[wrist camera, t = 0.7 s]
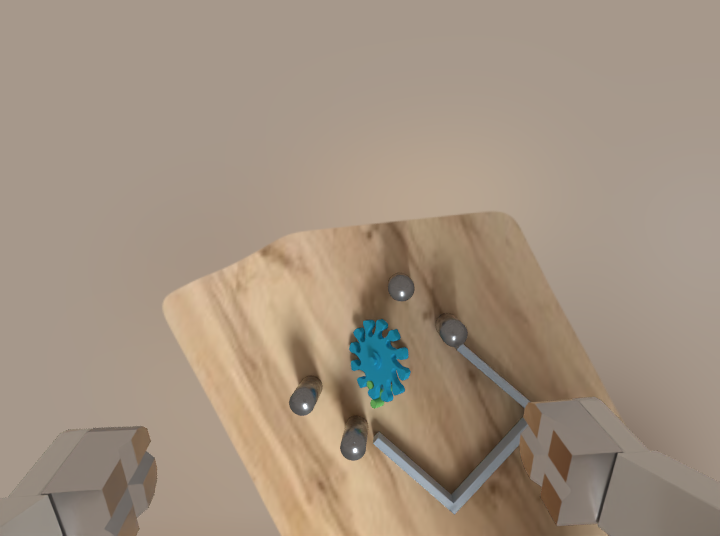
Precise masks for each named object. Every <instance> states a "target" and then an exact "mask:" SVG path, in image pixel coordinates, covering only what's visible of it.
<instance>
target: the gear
mask: <svg viewBox="0 0 720 536" xmlns="http://www.w3.org/2000/svg"><path fill="white" fill-rule="evenodd" d="M363 326H364V328H357V329H356V330H355V331H354V332H353V333H354V336H355V337H356V338H357V339H358V341H359V343H358V342H352V343H351V345H350V348H349V350H350V352H352V353H355V354H356V355H357V356H358V357H359V359H360V361H361V362H360V361H359V360H353V361H351V369H352V370H353V371H355V370H362V371H364V372H365V375H366V377H365V376H363V377H359V378H358V379H357V381H358V384H359V386H360V388H363V387H366V386H367V387H368V388H369V391H368V395H369V396H370V397H371V398H372V399H373V400H371V407H372V408H374V409H375V408H377V407H380V406H383V405H384V401H385V402H389V401H392V400H393V394H394V395H398V394H401V393H403V392H404V391H405V388H404V386H403V385H402V384H401V382H400V381H399V379H398V376H399V378H400V379H401V380H406V379H408V378H409V376H410V372H411V371H410V370H409V368H406V367H404V366H402V365H401V364H400V363H399V362H398V360H397V359H400V360H404V359H407V358H408V349H407V348H406V347H403V348H399V349H396V348H394V347H392V346H391V341H398V340H400V338H401V337H400V334H399V332H398V330H397V329H395V330H390V331H389V333H388V335H387V336H386V337H385V338H383V336H382V331H383V330H386V329H387V328H388V323H387V322H386V321H385V320H383V319H380V320H377V321H376V330H375V333H374V335H373V333H372V330H373V328H374V327H375V321H374V320H366V321H363ZM364 329H365V330H364ZM359 344H360V345H359ZM396 370H397V373H398V376H397V373H396ZM391 382H392V385H391ZM392 392H393V394H392Z"/></svg>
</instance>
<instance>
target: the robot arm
mask: <svg viewBox="0 0 720 536" xmlns="http://www.w3.org/2000/svg"><path fill="white" fill-rule="evenodd" d="M523 418H524V419H525V421H526V422H527V424H528V426H527V427H526V428H525V429H524V430H523V431H522V432H521V434H520V443H519V448H520V455H521V460H522V463H523V466H524V469H525V471H526V472H527V474H528V476H529V478H530V479H531V480H532V481H534V482H535V483H537V484H538V485H540V486H541V487H542V489H541V494H540V498H541V499H542V501H543V503H544V505H545V507H546V508H547V510H548V512H549V514H550V515H551V517H552V519H553V521H554V522H555V524H556V526H565V525H584V524H598V527H600V528H601V529H602V530H603V531H604V532H606V533H607V534H608V535H609V536H720V482H719V481H717V480H715V479H713V478H711V477H709V476H707V475H705V474H703V473H701V472H699V471H697V470H695V469H693V468H691V467H689V466H687V465H685V464H683V463H681V462H679V461H677V460H675V459H673V458H671V457H669V456H667V455H665V454H663V453H661V452H659V451H650V450H649V449H648V448H647V447H646V446H645V445H644V444H643V443H642V442H641V441H640V440H639V439H638V438H637V437H636V436H635V435H634V434H633V433H632V432H631V431H630V430H629V429H628V428H627V426H626V425H625V424H624V423H623V422H622V421H621V420H620V419H619V418H618V417H617V416H616V415H615V414H614V413H613V412H612V411H611V410H610V409H609V408H608V407H607V406H606V405H605V404H604V403H603V402H602V401H601V400H600V399H598V398H596V397H587V398H575V399H572V400H555V401H540V402H528V404H527V405H526V407H525V410H524V416H523ZM150 442H151V440H150V436H149V433H148V429H147V428H145V427H143V426H133V427H108V428H93V429H70V430H69V429H68V430H66V431H64V432H62V433H60V434H59V435H58V436H57V438H56V439H55V440H54V441H53V443H52V444H51V445H50V446H49V448H48V449H47V450H46V451H45V452H44V454H43V455H42V456H41V457H40V459H39V460H38V461H37V462H36V463H35V465H34V466H33V467H32V468H31V470H30V471H29V472H28V473H27V474H26V476H25V477H24V478H23V479H22V480H21V482H20V483H19V484H18V486H17V487H16V488H15V489H14V490H13V491H12V493H11V494H10V495H9V496H8V498H0V536H136V535H137V533H138V531H139V525H138V521H137V517H139V516H140V515H141V514H142V513H143V512H144V511H145V510H147V509H148V508H149V505H150V503H151V501H152V499H153V496H154V493H155V487H156V483H157V466H156V461H155V458H154V457H153V456H152V455H151V454H149V453H148V452H147V451H146V450H147V447H148V446H149V444H150Z"/></svg>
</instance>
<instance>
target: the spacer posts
mask: <svg viewBox="0 0 720 536" xmlns="http://www.w3.org/2000/svg"><path fill="white" fill-rule="evenodd" d="M388 290H389V294H390V296H391V297H392V298H393V299H395V300H397V301H406V300H408V299H410V298H411V297H412V295H413V293H414V284H413V282H412V280H411V279H410V278H409V277H408V276H407V275H406V274H403V273H397V274H394V275H393V276H392V277H391V278H390V280H389V283H388ZM435 326H436V330H437V332H438V333H439V335H440V336H441V338H442V340H443V341H444V342H445V343H446V344H447V345H449V346H452V347H457V346H460V345H462V344H463V343H464V342H465V341H466V339H467V336H468V332H467V329H466V327H465V325H464V324H462V323H461V322H460V321H459V320H458V319H457V318H456V317H455V316H454V315H452V314H448V313H446V314H442V315H440V316H439V317H438V318H437V320H436V324H435ZM321 392H322V383H321V381H320V380H319V379H318V378H317V377H315V376H307V377H305V378H304V379H303V380H302V381H301V383H300V384H299V386H298V387H297V388H296V390H295V391H294V393H293V394H292V396H291V397H290V401H289V405H290V408H291V410H292V411H293V412H294V413H295V414H297V415H301V416H304V415H307V414H309V413H310V412H311V411H312V410H313V408H314V406H315V404H316V402H317V400H318V398H319V396H320V394H321ZM367 434H368V423H367V421H366V420H365V419H364V418H363V417H361V416H353V417H351V418H349V419H348V421H347V422H346V426H345V430H344V434H343V438H342V442H341V446H340V449H341V453H342V455H343V456H344V457H345V458H347V459H348V460H353V461H354V460H358V459H360V458H362V457H363V455H364V454H365V451H366V442H367Z"/></svg>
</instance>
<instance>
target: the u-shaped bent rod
mask: <svg viewBox="0 0 720 536" xmlns="http://www.w3.org/2000/svg"><path fill="white" fill-rule="evenodd" d="M455 348H456V350H457V351H459V352H460V353H461V354H462V355H463V356H464V357H466V358H467V359H468V360H469V361H470V362H471V363H473V364H474V365H475V366H476V367H477V368H478V369H480V370H481V371H482V372H483V373H484V374H485V375H487V376H488V377H489V378H490V379H491V380H492V381H494V382H495V383H496V384H497V385H498V386H499V387H501V388H502V389H503V390H504V391H505V392H506V393H508V394H509V395H510V396H511V397H512V398H513V399H515V400H516V401H517V402H518V403H519V404H520V405H522V406H523V407H524V408H525V407H526V405H527V404H528V402H530V401H529V400H528V399H527V398H526V397H525V396H523V395H522V394H521V393H520V392H519V391H518V390H516V389H515V388H514V387H513V386H512V385H511V384H509V383H508V382H507V381H506V380H505V379H504V378H502V377H501V376H500V375H499V374H498V373H497V372H495V371H494V370H493V369H492V368H491V367H490V366H488V365H487V364H486V363H485V362H484V361H483V360H481V359H480V358H479V357H478V356H477V355H476V354H474V353H473V352H472V351H471V350H470V349H469V348H467V347H466V346H465V345H464V344H462V345H460V346H457V347H455ZM527 426H528V424H527V422H526V421H525V419H524V418H523V417H522V418H521V419H520V421H519V422H518V423H517V424H516V425H515V426H514V427H513V428H512V429H511V430H510V431H509V432H508V434H507V435H506V436H505V437H504V438H503V439H502V440H501V441H500V442H499V443H498V444H497V446H496V447H495V448H494V449H493V450H492V451H491V452H490V453H489V454H488V455H487V456H486V457H485V459H484V460H483V461H482V462H481V463H480V464H479V465H478V466H477V467H476V468H475V469H474V470H473V472H472V473H471V474H470V475H469V476H468V477H467V478H466V479H465V480H464V481H463V482H462V484H461V485H460V486H459V487H458V488H457V489H456V490H455V491H454V492H453V493H452V494H450V493H449V492H448V491H447V490H445V489H444V488H443V487H442V486H441V485H440V484H439V483H437V482H436V481H435V480H434V479H433V478H432V477H431V476H429V475H428V474H427V473H426V472H425V471H424V470H423V469H421V468H420V467H419V466H418V465H417V464H416V463H415V462H413V461H412V460H411V459H410V458H409V457H408V456H407V455H405V454H404V453H403V452H402V451H401V450H400V449H398V448H397V447H396V446H395V445H394V444H393V443H392V442H390V441H389V440H388V439H387V438H386V437H385V436H384V435H382V434H381V433H380V432H379V431H378V433H377V434H376V435H375V436H374V440H373V444H374V445H375V446H376V447H378V448H379V449H380V450H381V451H382V452H383V453H384V454H386V455H387V456H388V457H389V458H390V459H391V460H392V461H394V462H395V463H396V464H397V465H398V466H399V467H400V468H402V469H403V470H404V471H405V472H406V473H407V474H408V475H410V476H411V477H412V478H413V479H414V480H415V481H416V482H418V483H419V484H420V485H421V486H422V487H423V488H424V489H426V490H427V491H428V492H429V493H430V494H431V495H432V496H434V497H435V498H436V499H437V500H438V501H439V502H441V503H442V504H443V505H444V506H445V507H446V508H447V509H449V510H450V511H451V512H452V513H453V514H454V515H455V514H456V512H457V511H458V510H459V509H460V508H461V507H462V506H463V505H464V504H465V503H466V502H467V501H468V500H469V498H470V497H471V496H472V495H473V494H474V493H475V492H476V491H477V490H478V489H479V488H480V487H481V486H482V484H483V483H484V482H485V481H486V480H487V479H488V478H489V477H490V476H491V475H492V474H493V473H494V471H495V470H496V469H497V468H498V467H499V466H500V465H501V464H502V463H503V462H504V461H505V460H506V459H507V457H508V456H509V455H510V454H511V453H512V452H513V451H514V450H515V449H516V448H517V447H518V446H519V443H520V434H521V432H522V431H523V430H524V429H525V428H526V427H527Z"/></svg>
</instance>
